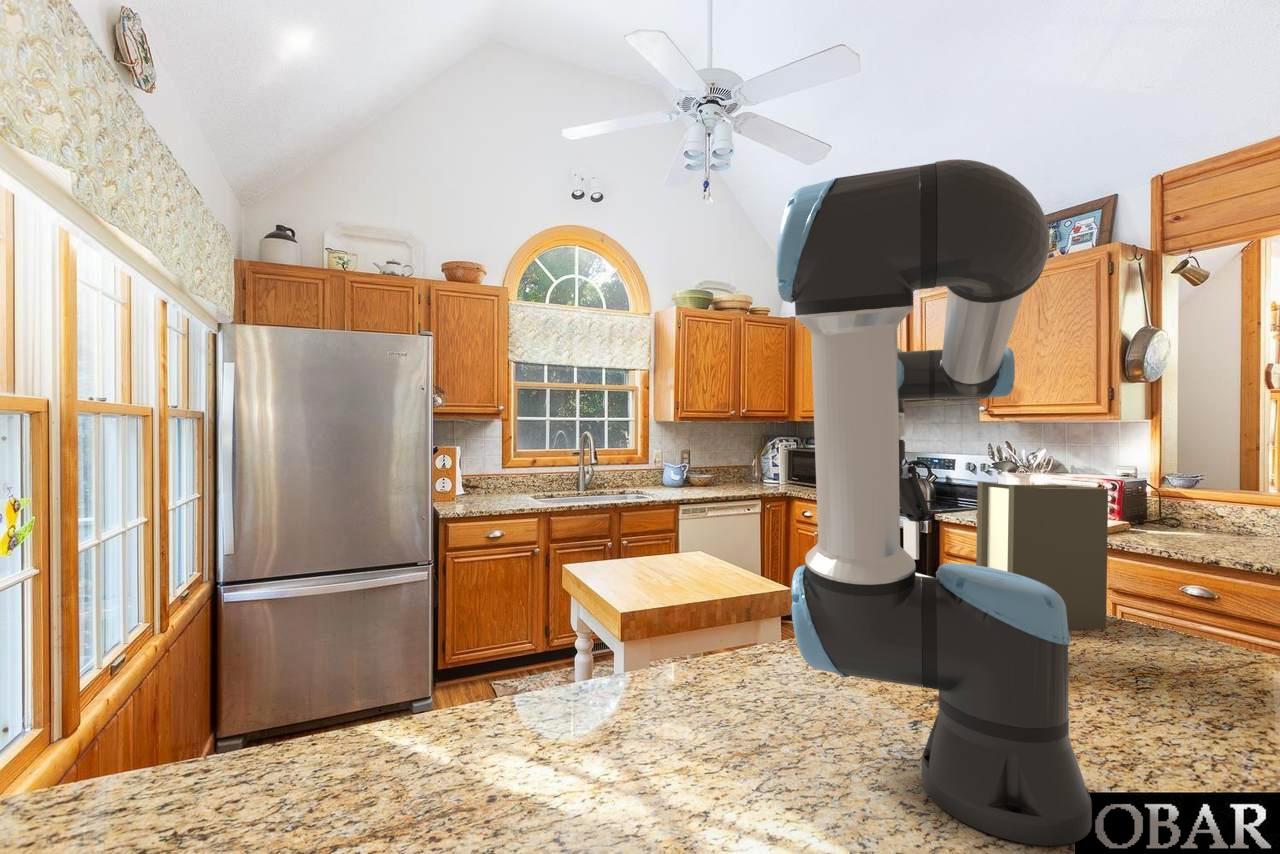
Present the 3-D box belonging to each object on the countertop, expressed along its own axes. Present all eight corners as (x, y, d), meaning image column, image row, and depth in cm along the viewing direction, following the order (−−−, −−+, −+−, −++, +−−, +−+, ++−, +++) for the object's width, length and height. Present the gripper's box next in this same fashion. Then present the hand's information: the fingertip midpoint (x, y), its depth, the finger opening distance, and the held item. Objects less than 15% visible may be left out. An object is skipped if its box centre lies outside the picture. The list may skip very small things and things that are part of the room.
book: (1067, 617, 125) (1069, 482, 125) (1109, 631, 115) (1111, 486, 116) (975, 620, 121) (977, 481, 121) (1011, 635, 112) (1014, 485, 112)
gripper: (839, 437, 96) (839, 571, 95) (951, 438, 106) (952, 559, 105) (808, 437, 103) (809, 562, 102) (916, 438, 112) (917, 552, 112)
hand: (881, 561), depth 104 cm, fingers open, 13 cm apart
